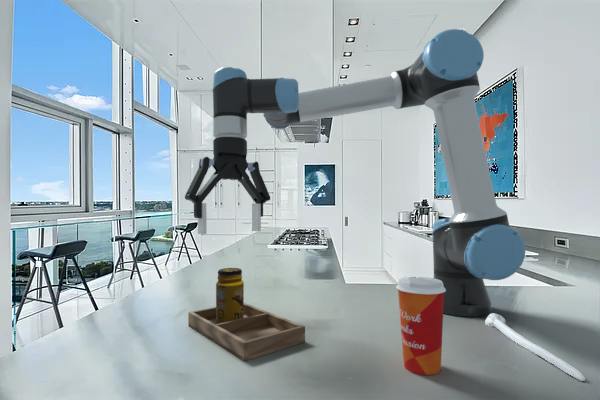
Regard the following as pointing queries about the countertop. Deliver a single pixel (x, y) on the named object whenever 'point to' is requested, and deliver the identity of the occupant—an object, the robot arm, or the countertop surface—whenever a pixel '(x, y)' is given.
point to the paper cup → (421, 323)
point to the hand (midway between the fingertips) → (230, 232)
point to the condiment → (229, 295)
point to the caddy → (248, 332)
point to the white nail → (531, 345)
